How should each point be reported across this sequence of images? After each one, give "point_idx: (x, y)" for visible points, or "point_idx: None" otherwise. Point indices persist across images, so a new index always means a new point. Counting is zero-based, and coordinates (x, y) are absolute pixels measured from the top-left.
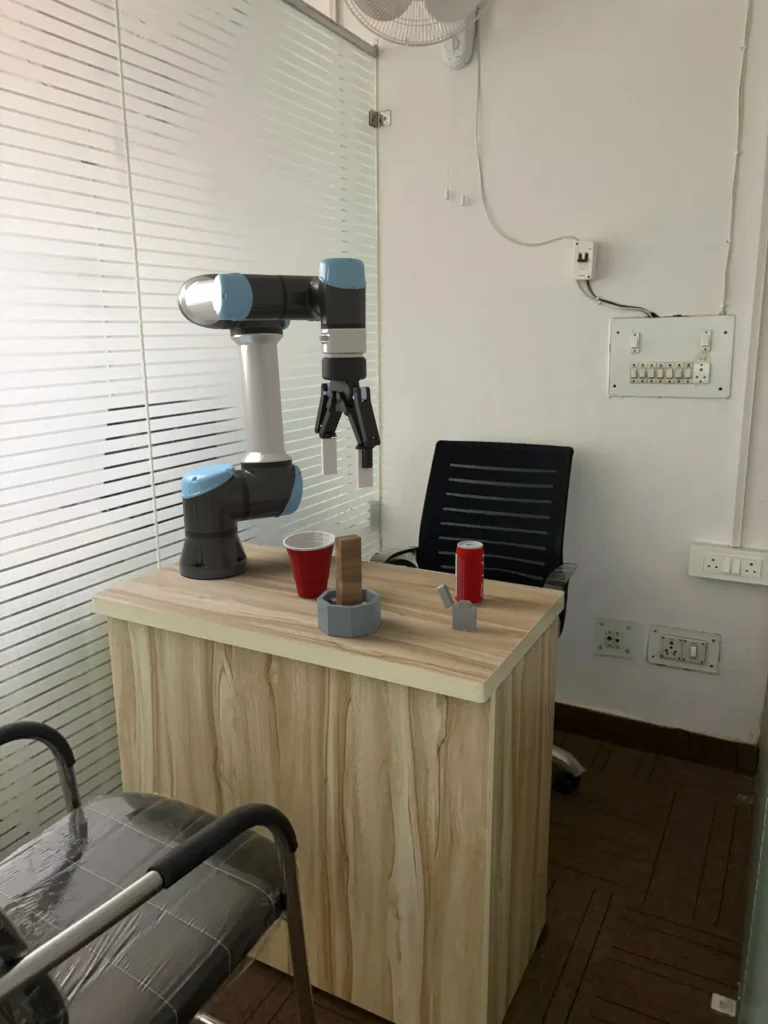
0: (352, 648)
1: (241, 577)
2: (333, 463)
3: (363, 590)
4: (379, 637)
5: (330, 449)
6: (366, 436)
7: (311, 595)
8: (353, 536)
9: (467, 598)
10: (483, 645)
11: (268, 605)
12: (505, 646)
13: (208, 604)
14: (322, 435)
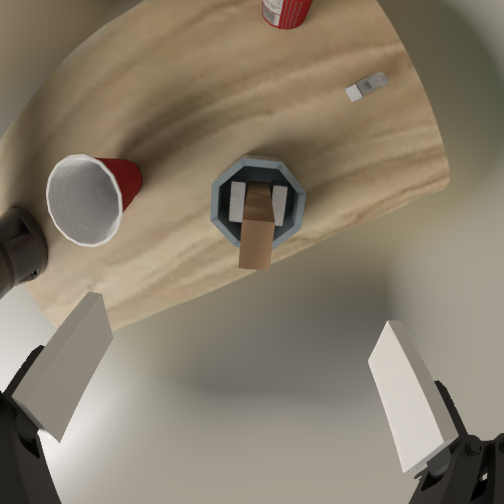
0: (320, 231)
1: (47, 228)
2: (85, 333)
3: (240, 168)
4: (315, 187)
5: (61, 385)
6: (476, 488)
7: (139, 189)
8: (257, 232)
9: (299, 23)
10: (407, 111)
11: (138, 244)
12: (421, 97)
13: (111, 292)
14: (41, 447)
